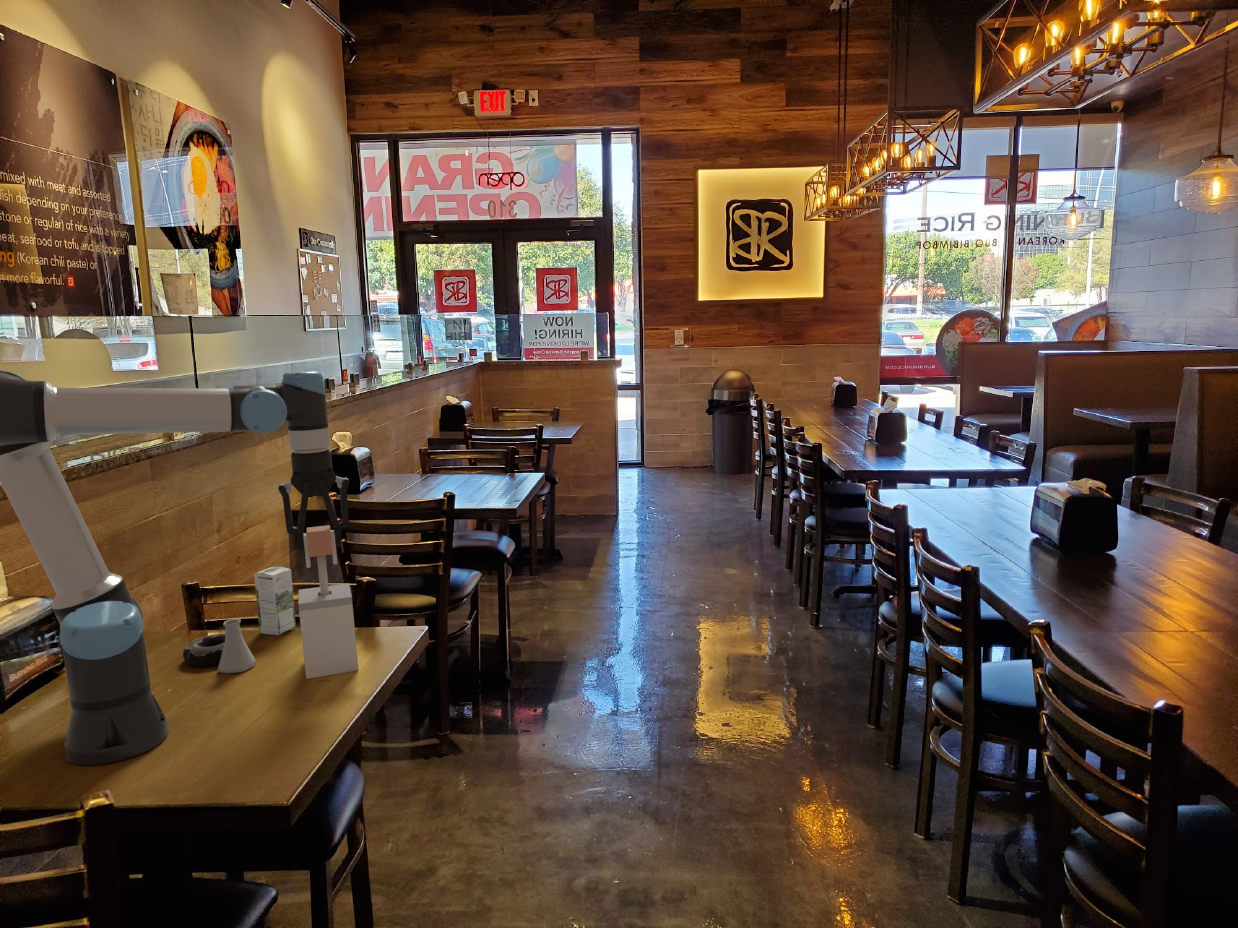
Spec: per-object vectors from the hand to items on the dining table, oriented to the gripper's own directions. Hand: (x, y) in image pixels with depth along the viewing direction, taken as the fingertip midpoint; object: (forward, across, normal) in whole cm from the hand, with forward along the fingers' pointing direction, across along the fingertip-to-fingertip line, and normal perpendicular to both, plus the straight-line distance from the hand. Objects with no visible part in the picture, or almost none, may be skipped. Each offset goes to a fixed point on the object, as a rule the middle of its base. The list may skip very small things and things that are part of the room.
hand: (321, 564), depth 172 cm
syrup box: (+22, +11, -27) cm, 37 cm away
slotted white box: (+22, 0, 0) cm, 22 cm away
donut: (+22, +23, -16) cm, 36 cm away
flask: (+22, +18, -8) cm, 30 cm away
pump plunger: (+13, 0, 0) cm, 13 cm away
